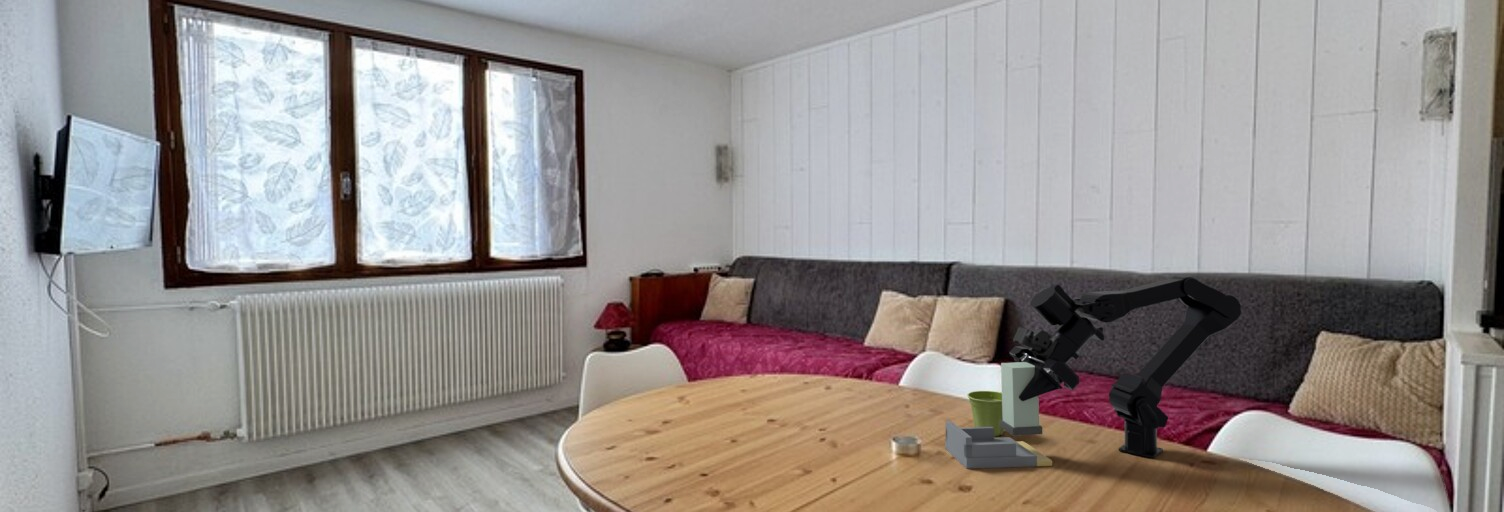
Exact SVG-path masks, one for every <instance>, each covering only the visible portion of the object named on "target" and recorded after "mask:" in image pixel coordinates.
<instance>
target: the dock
mask: <svg viewBox="0 0 1504 512" xmlns="http://www.w3.org/2000/svg"><path fill="white" fill-rule="evenodd" d="M944 441H945V444H944V445H945V450H946V451H947V452H949V454H950V455H952V456H953V458H954V459H956V460H957V461H958V463H960V464H961V465H962V466H963V467H965V468H966V469H967V470H968V469H969V470H970V469H996V468H997V469H998V468H1022V467H1023V468H1025V467H1050V466H1051V467H1052V466H1053V460H1052V459H1051V458H1049V457H1048V456H1045V454H1043V453H1041V452H1040V451H1038V450H1037V449H1036V448H1034V447H1033V446H1031V445H1030V444H1028V443H1026V442H1025V441H1016V440H1014V439H1013V438H1011V436H1009V437H1008V436H1006V437H1005V436H1004V437H994V428H993V427H975V426H974V427H973V426H970V427H969V426H967V427H960V426H958V425H957V424H955V423H954V422H953V421H952V420H946V421H945V440H944Z"/></svg>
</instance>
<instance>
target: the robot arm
mask: <svg viewBox="0 0 1504 512" xmlns="http://www.w3.org/2000/svg"><path fill="white" fill-rule="evenodd" d="M1177 299H1178V301H1180V302H1181V304H1183V305H1184V306H1186V307H1187V309H1186V311H1185V317H1184V322H1183V323H1182V325H1181V326H1180V327H1179V328H1178V329H1177V330H1176V331H1175V332H1174V333H1173V335H1172V336H1170V338H1169V339H1168V340H1167V341H1166V342H1165V343H1164V345H1163V346H1162V347H1161V348H1160V349H1158V351H1157V352H1156V353H1155V354H1154V356H1152V358H1151V359H1150V360H1149V361H1148V362H1147V363H1146V364H1145V365H1144V366H1143V368H1142V369H1140V371H1139V372H1136V373H1135V374H1132V373H1129V372H1126V371H1124V372H1123V373H1121V375H1120V376H1119V377H1118V379H1117V380H1116V381H1115V382H1114V383H1111V384H1110V387H1111V389H1110V391H1109V392H1108V398H1109V399H1108V401H1109V404H1110V406H1111V407H1112V408H1113V409H1114V411H1115V414H1116V417H1118V418H1122V419H1124V444H1123V445H1121V446H1119V447H1118V451H1120V452H1122V453H1123V452H1124V453H1128V454H1132V455H1137V456H1142V457H1147V458H1152V459H1153V458H1156V457H1158V456H1159V455H1160V454H1161V453H1163V452H1164V448H1162V447H1158V429H1159V428H1166V426H1167V423H1168V420H1169V416H1168V415H1167V414H1166V413H1165V412H1163V410H1162V409H1160V408H1159V406H1158V405H1159V404H1160V403H1161V399H1162V395H1163V394H1162V393H1163V388H1164V386H1165V385H1166V384H1167V383H1168V382H1169V381H1170V380H1171V379H1172V377H1174V375H1175V374H1176V373H1177V372H1178V371H1179V370H1180V369H1181V367H1182V366H1183V365H1184V364H1185V363H1186V362H1187V361H1188V360H1189V359H1190V358H1191V357H1192V355H1194V353H1195V352H1196V351H1197V350H1198V349H1199V348H1200V346H1201V345H1202V344H1203V343H1204V342H1205V341H1206V340H1207V339H1208V338H1209V337H1210V336H1211V335H1212V336H1213V335H1215V334H1217V333H1220V332H1222V331H1224V330H1226V329H1228V328H1229V327H1230V326H1232V324H1234V323H1235V322H1237V321H1238V320H1239V318H1240V317H1241V315H1242V308H1241V307H1242V306H1241V303H1240V301H1239V300H1238V298H1236V296H1234V295H1230V294H1225V293H1224V292H1222V291H1220V290H1217V289H1215V288H1213V287H1211V286H1208V285H1206V284H1204V283H1203V282H1202V281H1200V280H1198V279H1196V278H1195V277H1193V276H1182V275H1175V276H1173V277H1171V278H1168V279H1164V280H1159V281H1155V282H1152V283H1148V284H1144V285H1139V286H1136V287H1131V288H1130V287H1129V288H1127V289H1123V290H1107V291H1105V290H1101V291H1089V292H1087V291H1086V292H1085V293H1084V294H1082V295H1080V297H1079V298H1073V299H1072V298H1071V296H1069V294H1067V293H1066V292H1065V291H1064V288H1063V287H1062V286H1060V284H1056V283H1052V284H1051V285H1050V286H1049V287H1047V288H1045V289H1043V290H1041V291H1040V292H1039V293H1036V294H1035V295H1034V296H1033V297H1032V298H1031V301H1030V303H1029V304H1030V307H1031V308H1032V309H1033V310H1034V311H1035V312H1036V313H1037V314H1038V315H1040V317H1041V318H1043V320H1044V321H1045V322H1046V323H1047V324H1048V325H1049V326H1058V328H1057V329H1056V330H1055V331H1054V332H1053V333H1049V332H1048V331H1046V330H1043V329H1040V328H1037V329H1035V330H1034V331H1032V330H1030V329H1026V328H1023V327H1020V326H1018V327H1017V330H1016V333H1015V335H1014V337H1013V340H1012V342H1015V343H1017V344H1018V343H1019V344H1022V345H1023V346H1022V345H1021V346H1019V345H1018V346H1017V345H1015V346H1014V347H1012V349H1011V350H1010V351H1009V353H1008V354H1009V355H1010V356H1011V357H1013V361H1015V362H1027V363H1029V364H1032V365H1034V366H1035V374H1034V377H1033V378H1032V379H1031V381H1030V382H1029V383H1028V385H1027V386H1026V387H1025V389H1024V390H1023V391H1022V393H1021V394H1020V396H1019V399H1020V400H1021V401H1025V400H1028V399H1031V398H1033V397H1036V396H1041V395H1044V394H1047V393H1051V392H1053V391H1057V390H1062V389H1063V386H1064V387H1065V388H1066V389H1068V390H1071V391H1074V390H1075V389H1076V388H1077V387H1078V386H1079V385H1080V376H1079V375H1078V374H1077V373H1076V372H1075V371H1074V370H1073V369H1072V368H1071V367H1070V366H1069V365H1068V364H1067V363H1069V362H1070V361H1071V360H1076V361H1077V360H1078V359H1079V357H1080V355H1079V354H1078V352H1079V351H1080V350H1081V349H1082V347H1084V346H1085V345H1086V344H1087V343H1088V342H1089V340H1090V339H1094V340H1097V341H1100V342H1103V341H1104V340H1105V336H1104V327H1102V326H1098V325H1095V324H1094V323H1093V322H1092V321H1097V322H1102V323H1112V322H1114V321H1117V320H1119V319H1122V318H1123V317H1126V316H1128V314H1130V312H1132V311H1134V310H1137V309H1141V308H1144V307H1149V306H1153V305H1157V304H1160V303H1164V302H1168V301H1173V300H1177ZM1078 313H1079V314H1080V315H1081V316H1080V315H1079V314H1078ZM1091 320H1092V321H1091ZM1024 346H1026V347H1024ZM1027 347H1028V348H1027ZM1015 362H1014V363H1015ZM1062 384H1063V386H1062Z"/></svg>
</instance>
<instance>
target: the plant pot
mask: <svg viewBox="0 0 1504 512" xmlns="http://www.w3.org/2000/svg"><path fill="white" fill-rule="evenodd" d="M966 394H967V398H968V399H969V403H970V405H971V413H972V419H973V426H974V427H993V428H994V438H997V437H999V436H1003V435H1004V431H1005V430H1004V429H1002V428H1001V427H1000V420H1003V415H1002V391H1001V392H999V391H992V390H976V391H970V392H968V393H966Z"/></svg>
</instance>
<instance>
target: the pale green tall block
mask: <svg viewBox="0 0 1504 512" xmlns="http://www.w3.org/2000/svg"><path fill="white" fill-rule="evenodd" d="M1000 368H1001V369H1000V371H1001V372H1000V373H1001V374H1000V376H1001V377H1000V378H1001V393H1002V415H1003V420H1000V427H1001V428H1002V429H1004V431H1005V432H1007V433H1009V434H1010V435H1011V436H1013V437H1014V436H1015V437H1016V436H1017V437H1018V436H1035V435H1043V426H1042V425H1040V405H1039V404H1040V400H1039V399H1040V398H1039V396H1040V395H1039V396H1036V397H1033V398H1031V399H1028V400H1025V401H1021V400H1020V399H1019V396H1020V394H1021V393H1022V391H1023V390H1024V389H1025V387H1026V386H1027V385H1028V383H1029V382H1030V381H1031V379H1032V378H1033V377H1034V374H1035V366H1034V365H1032V364H1029V363H1027V362H1001V363H1000Z"/></svg>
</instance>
